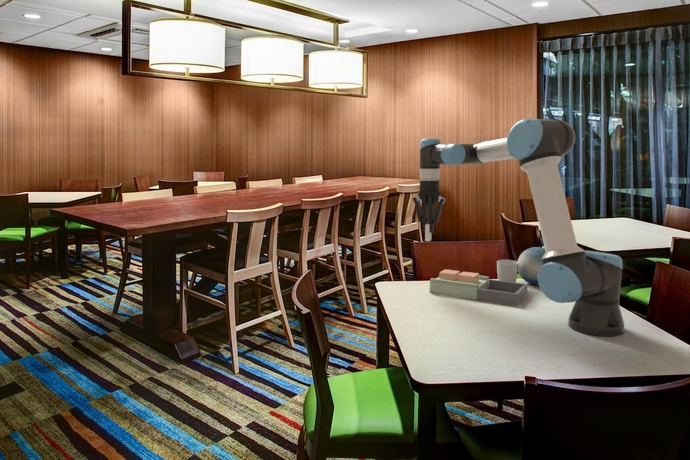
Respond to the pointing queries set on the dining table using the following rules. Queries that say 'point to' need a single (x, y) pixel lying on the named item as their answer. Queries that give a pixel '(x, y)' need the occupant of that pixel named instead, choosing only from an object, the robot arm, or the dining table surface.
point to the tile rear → (449, 275)
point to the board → (458, 287)
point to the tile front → (468, 277)
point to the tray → (502, 292)
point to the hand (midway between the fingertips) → (428, 240)
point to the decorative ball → (531, 264)
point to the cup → (507, 270)
